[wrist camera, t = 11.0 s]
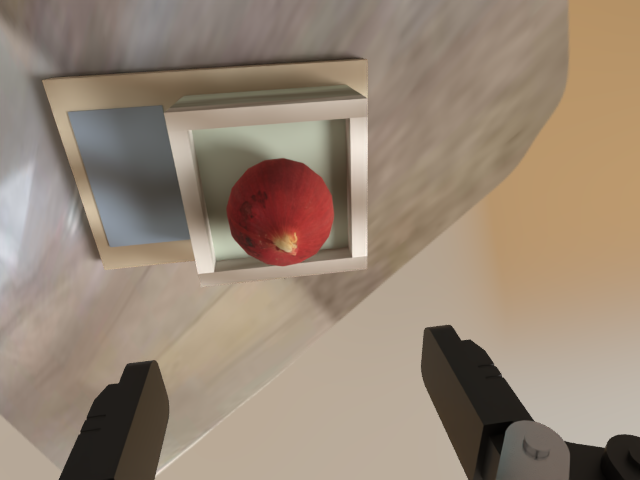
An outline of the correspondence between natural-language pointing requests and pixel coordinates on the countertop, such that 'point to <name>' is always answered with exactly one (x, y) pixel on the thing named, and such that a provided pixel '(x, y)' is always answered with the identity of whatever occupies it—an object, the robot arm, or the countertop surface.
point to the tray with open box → (212, 159)
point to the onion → (280, 212)
